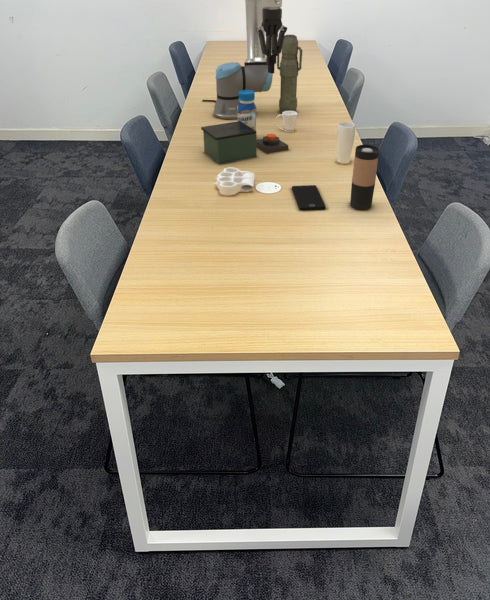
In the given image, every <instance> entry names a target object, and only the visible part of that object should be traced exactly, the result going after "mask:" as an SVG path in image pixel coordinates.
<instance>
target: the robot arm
mask: <svg viewBox="0 0 490 600" xmlns="http://www.w3.org/2000/svg"><path fill="white" fill-rule="evenodd" d="M244 2H245V3H244V4H245V26H246V27H245V29H246V53H247V54H246V55H247V58H246V59H245V61H244V65H241V63H240V62H234V61H233V62H225V63H222V64H220V65H218V66H217V67H216V69H215V81H216V82H215V83H216V85H215V86H216V100H215V99H202V102H209V103H210V102H211V103H215V105H214V109H213V116H214V118H216V119H217V118H218V119H221V120H236V119H237V120H238V118H237V112H238V110H237V106H238V104H239V102H240V100H239V91H241V90H252V91H254V93H264V92H269V91H270V89H271V87H272V84H273V77H274V76H273V74H275V66H276V65H277V56H278V54H279V55H280V54H282V45H283V40H284V36H285V35H286V33H287V31H288V27H287V26H285V25H283V21H282V18H283V9H282V7H283V0H244Z"/></svg>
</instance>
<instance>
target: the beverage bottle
mask: <svg viewBox="0 0 490 600" xmlns="http://www.w3.org/2000/svg"><path fill="white" fill-rule="evenodd" d="M255 94H256V92H254V91H252V90H241V91H239V100H240V102H239V104H238V106H237V110H238V112H237V118H238V119H237V121H241V122H242V123H244V124H246V125H247V126H249V127H250V128H252V129H254V130H255V131H256V132H257V117H258V116H257V115H258V113H257V106H256V103H255V97H256V96H255Z"/></svg>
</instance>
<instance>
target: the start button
mask: <svg viewBox="0 0 490 600" xmlns="http://www.w3.org/2000/svg"><path fill="white" fill-rule="evenodd" d="M265 136H266V139H267V140H276V136H277V135H276V134H275V133H267V134H266V135H265Z"/></svg>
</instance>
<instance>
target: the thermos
mask: <svg viewBox="0 0 490 600" xmlns="http://www.w3.org/2000/svg"><path fill="white" fill-rule="evenodd" d="M303 52H304V51H303V49H302V47H301V46H299V40H298V36H297V35H295V34H285V36H284V40H283V45H282V50H281V59H280V54H278V56H276V68H277V70H278V71H279V76H280V95H279V96H280V97H279V100H278V109H279V110H278V113H279V114H282V112H284V111H295V112H297V108H298V98H297V90H298V77H299V72H300V71H301V70H302V62H303ZM298 54H299V56H298ZM298 58H299V59H298ZM297 113H298V112H297Z"/></svg>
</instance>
